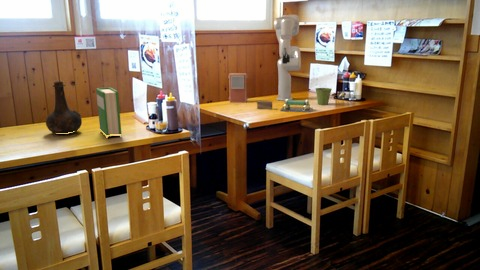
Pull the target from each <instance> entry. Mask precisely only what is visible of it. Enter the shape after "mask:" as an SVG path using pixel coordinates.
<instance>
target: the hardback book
mask: <svg viewBox="0 0 480 270" xmlns="http://www.w3.org/2000/svg"><path fill="white" fill-rule="evenodd" d="M95 91H96V100H97V111H98V121H99V130H100V129H101V130H102V131H103V132H104V133H105V134H106V135H110V134H122V126H121V125H122V124H121V114H120V113H121V111H120V101H119V91H118V90H116V89H114V88H112V87H97V88H95Z"/></svg>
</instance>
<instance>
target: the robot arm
mask: <svg viewBox="0 0 480 270" xmlns="http://www.w3.org/2000/svg"><path fill="white" fill-rule="evenodd" d="M273 28H274V30H275V35H276V39H277V41H278V44H279V45H278V47H279V48H278V49H279V50H278V51H279V52H278V53H279V59H278V60H277V71H278V72H277V73H278V74H277V75H278V81H277V82H278V85H277V86H278V87H277V88H278V96H277V97H276V100H277V101H283V102H285V100H287V99H288V101H289V100H294V99H293V98H294V97H291V96H292V91H291V89H292V76H291V74H290V73H289V72H295V71H296V72H297V71H299V70H301V68H302V67H301V66H302V64H301V63H302V62H301V60H302V59H301V57H302V56H301V50H300V47H299V46H297V45H296V46H293V45H291V40H293V36H297V35H299V31H300V17H299V16H298V14H284V15H282V16H279V17H276V18H274V20H273Z"/></svg>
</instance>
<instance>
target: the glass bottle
mask: <svg viewBox="0 0 480 270" xmlns="http://www.w3.org/2000/svg"><path fill="white" fill-rule="evenodd" d="M53 87H54V110H53V112H51V113H49V114H48V115H47V117H46V120H45V126H46V128H47V130H49V132H51V133H53V134H54V133H68V132H73V131H76V132H78V131H79V130H80V128H81V126H82V123H83V120H82V115H81V113H79V112H78V111H76V110H71V109H70V107H69V106H68V102H67V98H66V94H65V89H64V87H66V84H64V81H61V80H60V81H54V82H53V85H52V88H53ZM78 129H79V130H78ZM77 130H78V131H77Z"/></svg>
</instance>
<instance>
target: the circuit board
mask: <svg viewBox="0 0 480 270" xmlns="http://www.w3.org/2000/svg"><path fill="white" fill-rule="evenodd" d="M306 101H307V100H294V99H293V100H288V101H287V104H288V105H290V106H304V105H306ZM309 104H310V101H309V100H308V101H307V105H309Z"/></svg>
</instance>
